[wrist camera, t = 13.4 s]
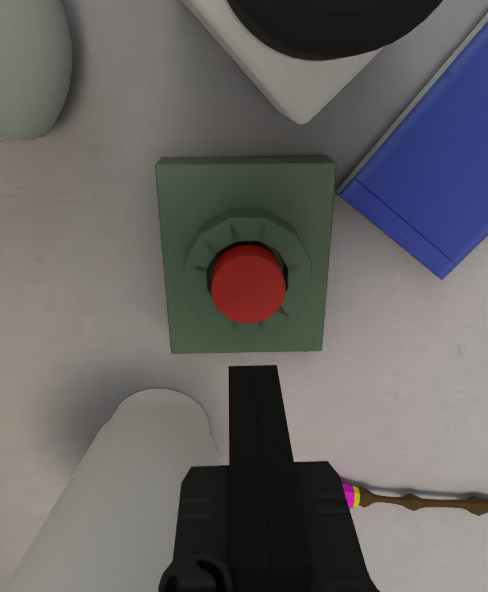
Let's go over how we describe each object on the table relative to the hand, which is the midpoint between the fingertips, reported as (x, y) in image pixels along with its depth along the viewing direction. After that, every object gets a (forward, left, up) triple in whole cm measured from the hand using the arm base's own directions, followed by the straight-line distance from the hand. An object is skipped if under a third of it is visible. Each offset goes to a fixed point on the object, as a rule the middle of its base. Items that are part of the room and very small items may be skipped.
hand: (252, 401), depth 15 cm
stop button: (0, 0, -10) cm, 10 cm away
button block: (0, 0, -14) cm, 14 cm away
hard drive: (-6, +12, -14) cm, 19 cm away
